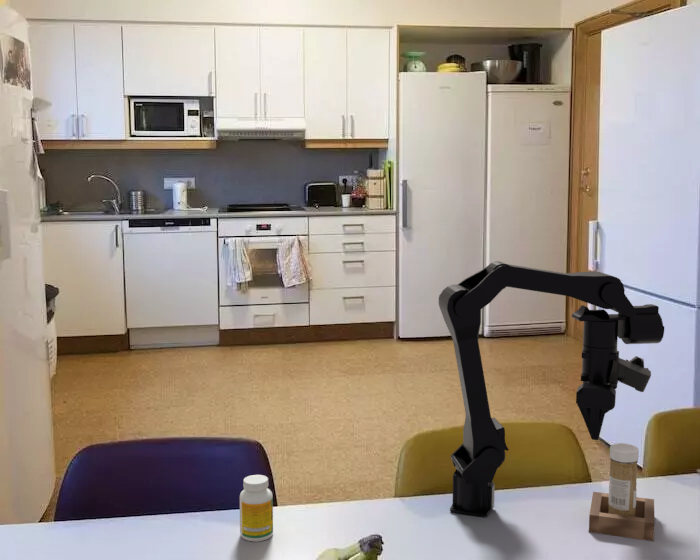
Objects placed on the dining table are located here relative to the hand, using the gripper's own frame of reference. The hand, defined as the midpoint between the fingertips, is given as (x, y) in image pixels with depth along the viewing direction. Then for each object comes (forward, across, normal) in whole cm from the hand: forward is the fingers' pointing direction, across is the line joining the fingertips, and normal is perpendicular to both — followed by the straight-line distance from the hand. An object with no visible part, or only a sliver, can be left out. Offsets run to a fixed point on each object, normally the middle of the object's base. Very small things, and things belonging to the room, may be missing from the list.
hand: (596, 431), depth 144 cm
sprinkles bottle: (+13, -8, -5) cm, 16 cm away
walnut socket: (+13, -8, -5) cm, 16 cm away
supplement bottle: (+13, -32, +51) cm, 62 cm away
